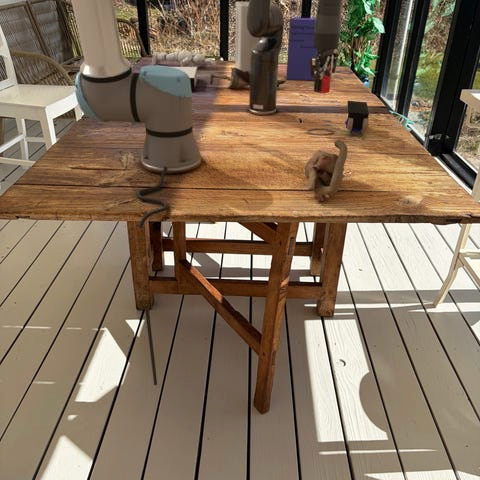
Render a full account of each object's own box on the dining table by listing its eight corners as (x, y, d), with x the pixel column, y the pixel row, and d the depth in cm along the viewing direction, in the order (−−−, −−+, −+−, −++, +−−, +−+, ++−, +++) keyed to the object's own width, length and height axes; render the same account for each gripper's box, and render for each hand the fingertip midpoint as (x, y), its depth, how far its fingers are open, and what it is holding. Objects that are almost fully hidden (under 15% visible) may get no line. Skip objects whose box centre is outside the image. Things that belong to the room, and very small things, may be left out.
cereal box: (326, 78, 209) (332, 18, 196) (327, 80, 205) (333, 19, 192) (286, 77, 210) (290, 17, 197) (286, 79, 206) (290, 18, 193)
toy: (171, 74, 211) (170, 58, 208) (148, 64, 229) (146, 49, 225) (218, 68, 223) (218, 53, 219) (192, 59, 240) (192, 44, 237)
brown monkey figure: (321, 192, 118) (322, 208, 103) (296, 168, 117) (293, 181, 103) (359, 155, 113) (365, 166, 99) (333, 130, 112) (335, 137, 98)
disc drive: (149, 91, 185) (148, 77, 183) (156, 78, 205) (156, 65, 202) (194, 91, 186) (194, 78, 183) (197, 78, 205) (197, 66, 203)
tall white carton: (273, 76, 210) (276, 6, 196) (239, 77, 209) (240, 6, 194) (266, 67, 226) (268, 2, 212) (235, 67, 225) (235, 1, 210)
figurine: (210, 87, 179) (288, 95, 182) (212, 65, 176) (291, 73, 180) (208, 84, 201) (278, 91, 205) (210, 64, 198) (280, 71, 202)
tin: (327, 93, 146) (328, 79, 144) (312, 92, 148) (313, 77, 146) (330, 90, 150) (332, 75, 148) (316, 88, 152) (317, 74, 149)
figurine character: (367, 142, 142) (363, 122, 154) (371, 118, 138) (367, 99, 149) (344, 141, 143) (342, 120, 155) (348, 117, 138) (346, 98, 150)
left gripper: (165, -90, 121) (170, 3, 132) (147, -84, 141) (153, -4, 152) (135, -91, 119) (143, 4, 129) (121, -85, 139) (129, -3, 150)
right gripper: (327, 34, 133) (321, 96, 142) (349, 29, 143) (342, 87, 152) (303, 32, 137) (299, 92, 146) (327, 27, 147) (321, 84, 156)
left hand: (148, 0), depth 141 cm, fingers open, 13 cm apart
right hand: (321, 89), depth 149 cm, fingers closed on tin, 4 cm apart
